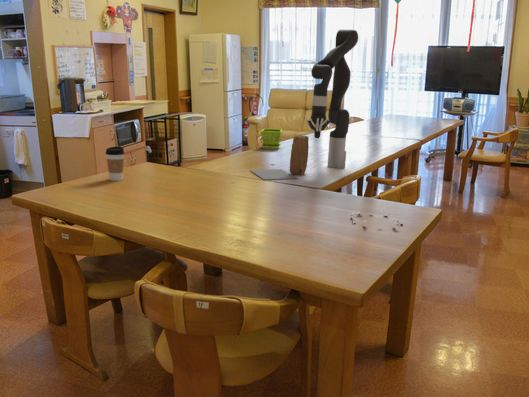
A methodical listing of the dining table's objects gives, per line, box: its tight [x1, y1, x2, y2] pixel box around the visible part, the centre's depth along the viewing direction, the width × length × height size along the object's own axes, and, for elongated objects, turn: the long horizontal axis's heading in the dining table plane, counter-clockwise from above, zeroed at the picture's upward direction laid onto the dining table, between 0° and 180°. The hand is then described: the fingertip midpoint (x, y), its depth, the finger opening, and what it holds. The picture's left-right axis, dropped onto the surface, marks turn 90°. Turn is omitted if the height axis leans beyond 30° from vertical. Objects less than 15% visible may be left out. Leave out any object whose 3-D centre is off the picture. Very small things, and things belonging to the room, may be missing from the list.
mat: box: [249, 168, 298, 181], centre depth 252 cm, size 18×22×1 cm
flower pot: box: [260, 128, 283, 150], centre depth 337 cm, size 14×14×13 cm
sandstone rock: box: [289, 134, 310, 176], centre depth 255 cm, size 11×8×20 cm
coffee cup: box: [105, 146, 125, 182], centre depth 227 cm, size 8×8×15 cm
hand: (316, 138), depth 256 cm, fingers closed
